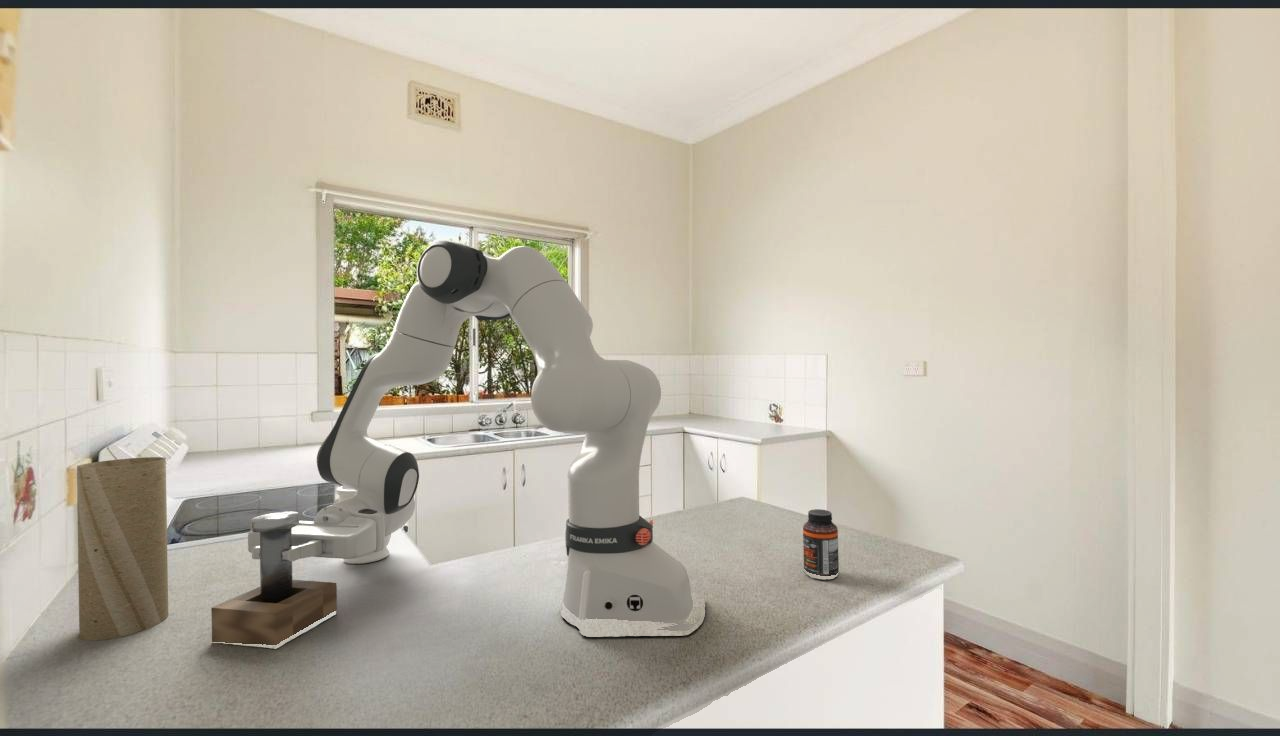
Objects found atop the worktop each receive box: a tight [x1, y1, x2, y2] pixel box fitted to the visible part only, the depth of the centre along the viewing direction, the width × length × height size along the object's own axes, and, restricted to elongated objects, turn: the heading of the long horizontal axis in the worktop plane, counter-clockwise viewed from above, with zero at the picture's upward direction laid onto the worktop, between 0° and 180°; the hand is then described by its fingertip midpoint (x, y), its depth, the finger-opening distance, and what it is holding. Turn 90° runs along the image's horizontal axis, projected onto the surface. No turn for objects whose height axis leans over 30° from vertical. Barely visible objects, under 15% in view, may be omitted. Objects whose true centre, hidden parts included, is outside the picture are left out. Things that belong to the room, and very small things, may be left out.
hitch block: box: [210, 579, 338, 645], centre depth 82 cm, size 11×11×5 cm
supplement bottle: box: [802, 508, 840, 576], centre depth 98 cm, size 6×6×11 cm
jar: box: [336, 485, 392, 565], centre depth 113 cm, size 11×10×15 cm
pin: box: [250, 511, 300, 603], centre depth 82 cm, size 6×6×12 cm
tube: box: [76, 456, 169, 642], centre depth 84 cm, size 10×10×25 cm
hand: (270, 555), depth 81 cm, fingers closed on pin, 4 cm apart
